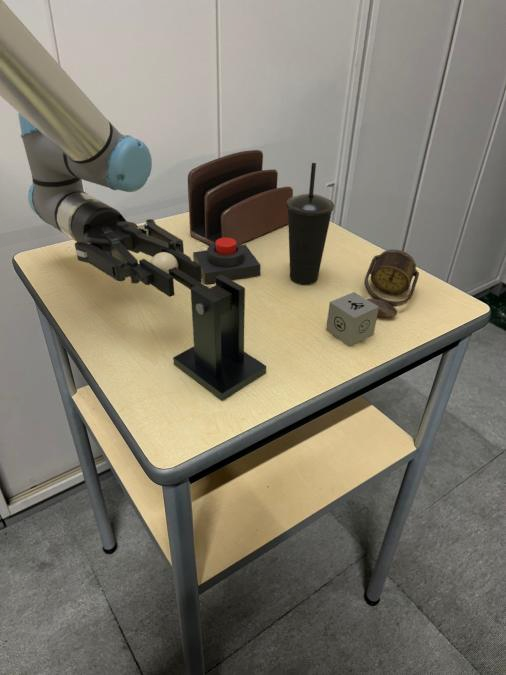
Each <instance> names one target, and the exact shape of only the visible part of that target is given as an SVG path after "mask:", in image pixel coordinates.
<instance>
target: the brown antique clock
mask: <svg viewBox="0 0 506 675" xmlns="http://www.w3.org/2000/svg"><path fill="white" fill-rule="evenodd" d="M419 276H420V272H419V271H418V270H417V263H416V260H414V258H413V256H412V255H411V254H409V253H408V252H406V251H405V250H404V251H403V250H400V249H387V250H384V251H383V252H381V253H380V254H377V255H374V256H373V258H372V259H371V262H370V264H369V266H368V269H367V271H366V274H365V277H364V283H363V284H364V287H365V290H366V292H367V293H368V295H369V296H370V298H366V299H367V300H368V301H370V302H372V303H373V304H375V305H377V306H379V309H378V314H377V317H382V318H394V317H396V316H398V310H397V308H398V307H402V306H403V305H406V304H407V303H409V301H411V299H412V297H413V295H414V292H415V289H416V285H417V283H418V280H419ZM369 278H370V281H371V284H372V285H373V287H374V288H375V289H376V290H377V291H379V292H381V293H383V294H386V295H389V296H399V295H402V294H404V293H406V292H408V290H409V288H410V290H409V294H408V296H407V298H405V299H403V300H399V301H395V300H388V299H385V298H383V297H381V296H380V295H378V294H376V293H375V291H373V289H372V288H371V285H370V283H369ZM410 286H411V287H410Z"/></svg>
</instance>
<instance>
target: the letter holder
mask: <svg viewBox="0 0 506 675" xmlns="http://www.w3.org/2000/svg"><path fill="white" fill-rule="evenodd" d="M263 164H264V153H263V151H262V150H261V149H252V150H243V151H239V152H233V153H230V154H227V155H223V156H221V157H218V158H215V159H212V160H209V161H208V162H205V163H203V164H200V165H199V166H196V167H194V168H192V169H191V170H190V171H189V172H188V175H187V197H188V198H187V199H188V218H189V219H188V220H189V234H190V237H192V238H195V239H197V241H198V240H199V241H201V242H203V243H204V244H207V245H208V246H209V245H211V244H213V243H215V242H216V240H218V239H220V238H232V239H234V240H236V242H237V243H239V244H242V245H243V244H245V243H247V242H249V241H251V240H254V239H256V238H258V237H260V236H264V235H265V234H267V233H270V232H272V231H274V230H277V229H279V228H281V227H284V226H286V225H288V208H287V206H286V202H287V200H288V199H289V198H291V197H294V189H293V187H291V186H281V187H278V180H279V179H278V177H279V173H278V170H277V169H275V168H274V169H273V168H272V169H263V168H264V167H263Z"/></svg>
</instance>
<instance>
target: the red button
mask: <svg viewBox="0 0 506 675" xmlns="http://www.w3.org/2000/svg"><path fill="white" fill-rule="evenodd" d="M216 253H218V254H222V255H230V254H234V253H236V240H234V239H232V238H220V239H218V240H216Z"/></svg>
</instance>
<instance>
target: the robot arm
mask: <svg viewBox="0 0 506 675" xmlns="http://www.w3.org/2000/svg"><path fill="white" fill-rule="evenodd" d="M0 97H1V98H2V99H3V100H4V101H6V102H7V103H8V104H9V105H10V106H11V107H12V108H13V109H14V110H16V112H18V115H17V116H18V121H19V126H20V132H21V134H20V138H21V139H22V140H21V141H22V143H23V146H24V147H23V148H24V151H25V154H26V159H27V161H28V162H27V163H28V166H29V169H30V174H31V178H32V183H31V185H29V189H28V194H27V202H28V204H29V207H30V209H31V210H32V211H33V212H34V214H35V215H37V216H38V217H39V218H40V220H42V221H43V222H44V223H46V224H48V225H50V226H52V227H53V228H54V229H56V230H58V231H59V232H61V233H62V234H64V235H65V236H66V237H68V238H70V239H71V240H72V241H75V243H74V248H75V254H76V258H77V261H79V262H83V263H87V264H89V265H91V266H93V267H94V268H96V269H98V270H99V271H101V272H102V273H103V274H106V275H107V276H109V277H110V278H112V279H113V280H114V281H117V282H121V283H122V282H124V281H125V280H126V278H130V283H131V284H135V285H136V284H139V283H142V284H144V285H147V286H150V285H151V286H152V287H154V288H155V289H156V290H158V291H159V292H161V293H163V294H164V295H166V296H167V297H169V298H171V297H174V296H176V294H175V285H174V284H175V283H174V279H173V277H172V276H171V275H169V274H168V273H166V272H164V271H163V270H161V269H159V268H158V267H156V266H155V265H153V264H151V263H150V262H151V261H148V260H147V259H145V258H142V259H139V260H138V259H137V258H136V257H135V256H134V255H133V254H132V253H135V254H139V253H142V254H145V255H147V256H150V257H152V258H153V257H154V256H155V255H156V254H158V253H161V252H166V253H170V254H172V255H173V256H174V257H175V258H176V260H177V262H178V269H179V270H181V271H182V272H184V273H186V274H187V275H189V276H190V277H192V278H194V279H195V280H197V281H199V282H200V283H202V284H203V282H202V281H203V280H202V277H201V265H199V264H197V263H196V262H194V260H192V258H191V257H190V256H189V255H187V254H186V253H185V251H184V240H182V239H181V238H180V237H178V236H176V235H174V234H173V233H171V232H170V231H168V230H166V229H164V228H163V227H162V226H159V225H158V224H157V223H156V221H155V220H154V219H152V218H147V219H146V220H145V223H144V224H140V225H138V224H137V223H135V222H133V221H128V220H127V219H126V218H125V217H124V215H123V214H122V213H121V212H120V211H119V210H117V209H116V208H114V207H112V206H111V205H108V204H107V203H105V202H103V201H102V200H100V199H98V198H97V197H94V196H93V195H91V194H89V193H87V192H85V191H84V190H85V189H84V185H83V181H86V182H88V183H89V182H90V183H92V184H96V185H99V186H101V187H105V188H107V189H110V190H112V191H122V192H126V193H134V192H138V191H139V190H141V189H142V188H143V187H144V186H145V185H146V183H147V181H148V179H149V178H150V176H151V173H152V166H153V161H152V160H153V159H152V154H151V151H150V149H149V147H148V146H147V144H146V143H145V142H144V141H142V140H140V139H138V138H135V137H133V136H131V135H127V134H122V132H120V131H119V130H118V129H117V128H116V127H115V126H114V124H113V123H112V122H111V121H109V119H108V118H107V117H106V116H105V115H104V114H103V112H102V111H101V110H100V109H99V108H98V107H97V106H96V105H95V104H94V102H93V101H92V100H91V99H90V97H88V96H87V94H86V93H85V92H84V91H83V90H82V89H81V87H80V86H79V85H78V84H77V83H76V82H75V81H74V79H72V77H71V76H70V75H69V74H68V73H67V71H65V70H64V68H63V67H62V66H61V65H60V64H59V63H58V61H57V60H56V59H55V58H54V57H53V55H52V54H51V53H50V52H49V51H48V50H47V49H46V48H45V47H44V45H42V43H41V42H40V41H39V40H38V38H36V36H35V35H34V34H33V33H32V31H30V30H29V29H28V27H27V26H26V25H25V24H24V23H23V21H22V20H21V19H20V18H19V17H18V16H17V15H16V14H15V12H14V11H13V10H12V9H11V8H10V7H9V6H8V4H6V2H5V1H4V0H0ZM131 252H132V253H131Z"/></svg>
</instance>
